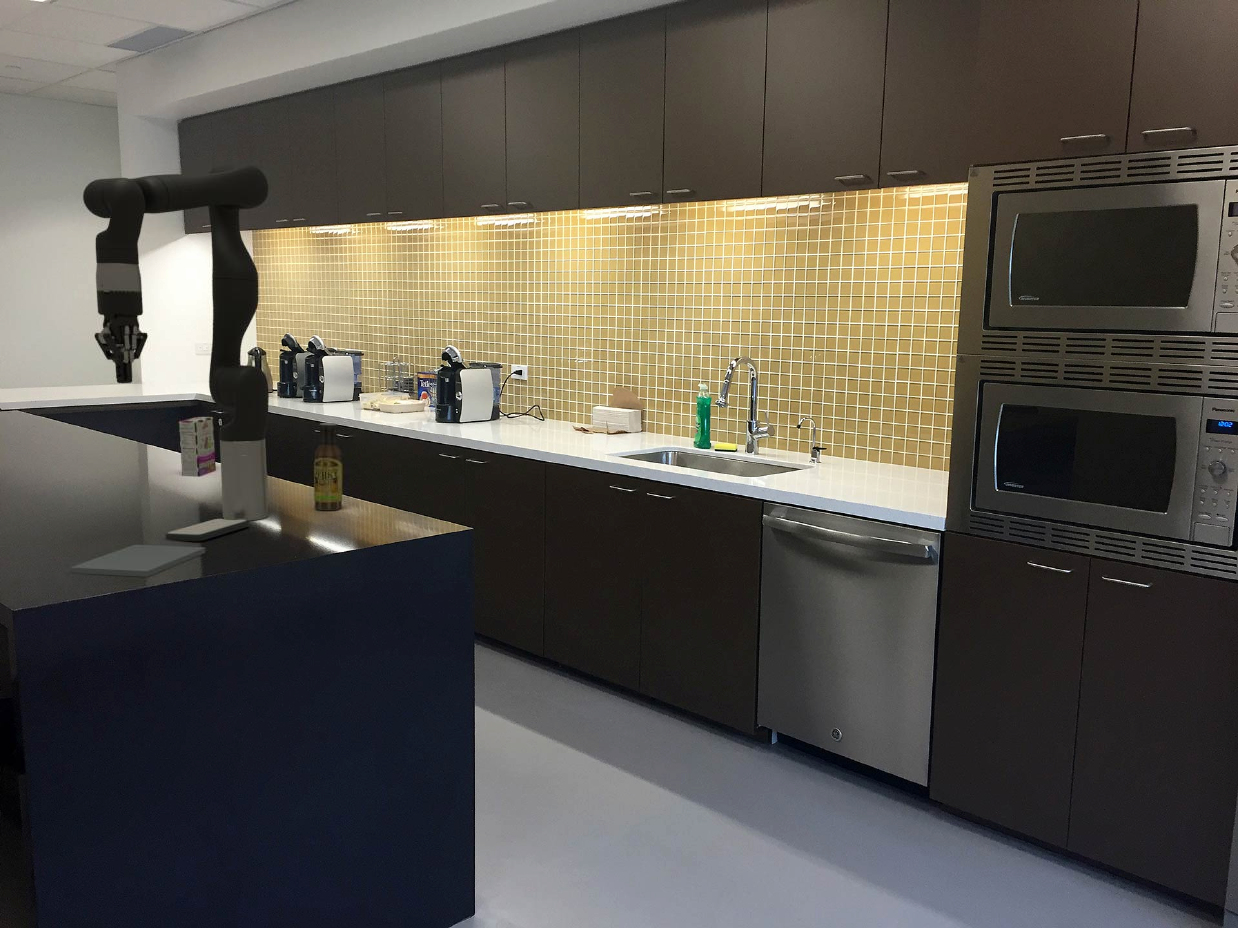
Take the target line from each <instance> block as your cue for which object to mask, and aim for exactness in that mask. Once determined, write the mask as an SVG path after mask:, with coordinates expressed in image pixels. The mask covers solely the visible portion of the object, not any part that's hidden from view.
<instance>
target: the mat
mask: <svg viewBox="0 0 1238 928" xmlns="http://www.w3.org/2000/svg"><path fill="white" fill-rule="evenodd" d="M203 554H206V547H201V546H199V547H197V546H196V547H195V546H180V545H179V546H178V545H175V546H174V545H158V544H157V545H153V544H133V545H130V546H127V547H124V548H122V549H118V550H116V551H113V552H110V553H107V554H105V555H101V556H99V557H96V558H93V559H90V560H87V561H84V562H81V563H79V564H76V565H73V566H70V570H69V571H70V573H71V574H80V575H99V576H104V575H105V576H116V577H117V576H119V577H121V576H122V577H140V578H142V577H143V578H148V577H150V576H154V575H155V574H156V575H157V573H160V572H163V571H165V570H167V569H170V568H173V567H175V566H177V565H180V564H182V563H185V562H187V561H189V560H192V559H194V558H196V557H199V556H201V555H202V556H203Z"/></svg>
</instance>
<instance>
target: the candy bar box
mask: <svg viewBox="0 0 1238 928" xmlns="http://www.w3.org/2000/svg"><path fill="white" fill-rule="evenodd" d="M178 428H179V429H178V430H179V444H180V458H181V474H182V477H193V478H196V477H197V478H198V477H203V476H205V475H209V474H211V473H213V472H215V471H216V470H217V465H216V463H217V462H216V450H215V434H214V433H215V432H214V416H213V417H212V416H198V417H197V416H195V417H192V418H187V419H183V420H179V421H178Z"/></svg>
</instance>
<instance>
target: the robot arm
mask: <svg viewBox="0 0 1238 928" xmlns="http://www.w3.org/2000/svg"><path fill="white" fill-rule="evenodd" d="M268 195H269V182H268V180H267V177H266V175H265V173H264V172H263V171H262V170H261V169H260V168H259V167H258V166H255V165H253V164H250V163H230V164H229V163H228V164H219V165H215V166H214V167H213V168H211V169H210V171H209V173H180V174H179V173H178V174H177V173H171V174H169V173H168V174H155V175H153V174H152V175H145V176H140V177H134V178H133V177H132V178H128V177H113V178H100V179H99V178H98V179H95V180H93V181H90V182H89V183H88V184H87V185H86V186H85V188H84V191H83V193H82V200H83V203H84V206H85V207H86V208H87V210H88V211H89V212H90V213H91V214H92V215H94V216H96V217H99V218H102V219H109V222H108V225H107V228H106V229H104V230H102V231H101V232H99V233H97V234H96V236H95V260H96V263H95V264H96V268H95V269H96V270H95V283H96V303H97V304H96V305H97V313H98V315H100V316H103V322H102V327H103V329H102V330H101V331H100V332H95V333H94V339H95V341H96V343H97V344H98V346H99V348H100V350H101V351H102V353H103V354H104V356H105V359H106V360H109V361H110V360H111V361H112V362H113V363H114V365H115V374H116V375H115V379H116V382H117V383H118V384H131V383H133V364H132V363H134V362H135V360H139V359H140V357H141V355H142V352H143V349H144V347H145V344H146V342H147V340H148V336H149V335H148V333H147V332H142V330H140V322H139V321H138V320H139V319H138V316H139V317H140V316H142V315H143V314H144V306H143V305H144V304H143V290H142V289H143V288H142V286H143V285H142V276H141V275H142V274H141V270H140V266H139V265H140V261H139V258H140V257H139V245H138V244H139V239H140V236H141V231H142V226H143V222H144V216H145V214H151V215H152V214H154V215H155V214H164V213H165V214H166V213H173V212H179V211H186V210H192V209H198V208H205V207H207V208H208V214H209V215H208V216H209V224H210V233H211V234H210V236H211V255H212V256H211V260H212V261H211V262H212V268H211V269H212V271H211V290H212V291H211V292H212V293H211V296H212V297H211V298H212V340H211V341H212V343H211V353H210V355H211V356H210V362H209V374H208V388H209V393H210V395H211V398H212V400H213V401H214V403H215V404H216V405H218V406H219V407H223V408H231V409H233V408H234V412H233V419H232V420H231V421H230V422H229V423H227V424H224V425H222V426H221V427H220V428H219V446H220V447H219V452H220V453H219V454H220V471H221V472H220V473H221V474H220V475H221V498H222V499H221V500H222V501H221V503H222V519H223V518H224V519H240V520H249V521H256V520H262V519H265V518H268V516H269V512H270V511H269V489H268V473H267V472H268V471H267V452H266V451H267V450H266V430H267V427H268V425H269V401H270V399H269V396H270V395H269V394H270V393H269V392H270V389H269V384H268V383H269V381H268V378H267V376H266V374H265V372H264V371H263V370H262V369H261V368H260V367H258V366H255V365H246V364H245V365H242V364H241V351H242V343H243V339H244V336H245V334H246V331H247V330H248V328H249V327H250V324H251V322H252V320H253V318H254V316H255V314H256V311H257V309H258V306H259V273H258V270H257V269H258V268H257V267H256V264H255V262H254V260H253V258H252V255H250V252H249V251H248V249H247V247H246V245H245V243H244V240H243V238H242V235H241V229H240V210H250V209H255V208H258V207H259V206H262V204H264V203H265V201H266V199H267V198H268Z"/></svg>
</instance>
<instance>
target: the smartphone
mask: <svg viewBox="0 0 1238 928" xmlns="http://www.w3.org/2000/svg"><path fill="white" fill-rule="evenodd" d="M249 526H250V520H240V519H223V518H215V519H211V520H208V521H207V520H206V521H203V522H200V523H196V524H193V525H189V526H187V527H182V528H178V529H176V530H172V531H168V532H166V533H165V540H167V541H178V542H179V541H180V542H181V541H183V542H184V541H185V542H202V541H206V540H208V539H213V538H215V537H219V536H221V535H225V534H229V533H232V532H235V531H239V530H241V529H245V528H247V527H248V528H249Z"/></svg>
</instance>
